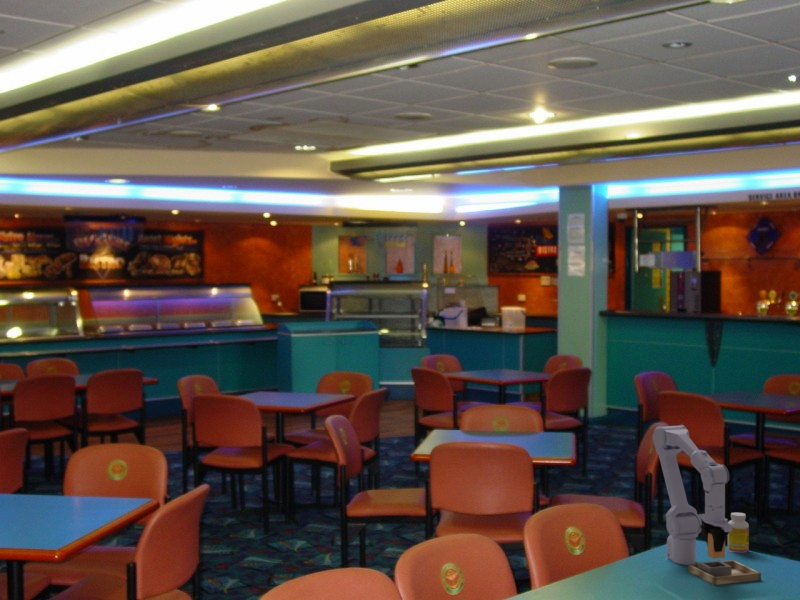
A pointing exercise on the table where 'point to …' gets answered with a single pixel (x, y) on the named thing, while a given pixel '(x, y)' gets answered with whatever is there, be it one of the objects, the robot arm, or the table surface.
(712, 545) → the plug
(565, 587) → the table surface
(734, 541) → the supplement bottle
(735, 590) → the table surface
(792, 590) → the table surface
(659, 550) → the table surface
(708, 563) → the inlet socket
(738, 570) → the walled box
